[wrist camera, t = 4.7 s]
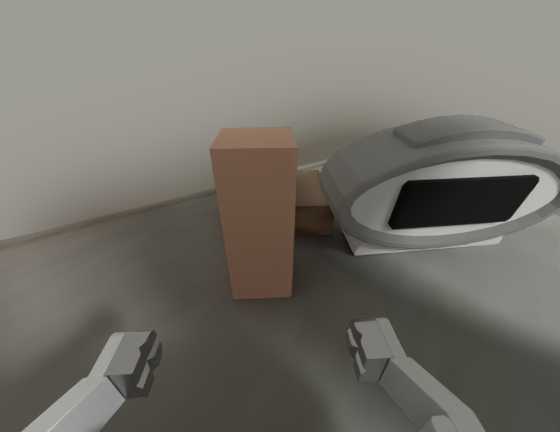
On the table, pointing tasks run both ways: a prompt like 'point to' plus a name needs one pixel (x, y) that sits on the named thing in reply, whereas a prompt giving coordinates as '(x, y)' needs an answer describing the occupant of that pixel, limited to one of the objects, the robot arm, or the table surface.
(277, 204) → the terracotta block
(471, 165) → the alarm clock
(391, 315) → the table surface
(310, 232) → the block
